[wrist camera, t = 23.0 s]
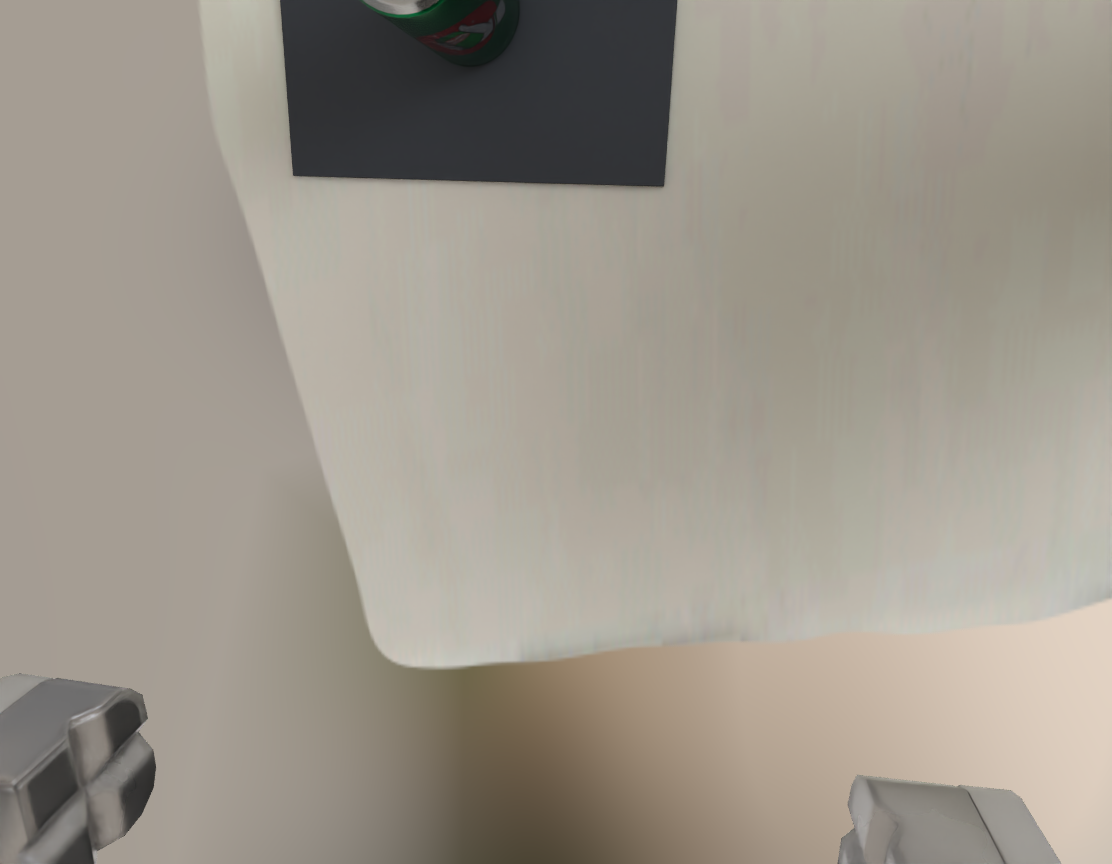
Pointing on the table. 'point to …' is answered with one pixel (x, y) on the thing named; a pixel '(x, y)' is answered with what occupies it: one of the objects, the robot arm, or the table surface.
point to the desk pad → (483, 96)
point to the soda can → (455, 26)
